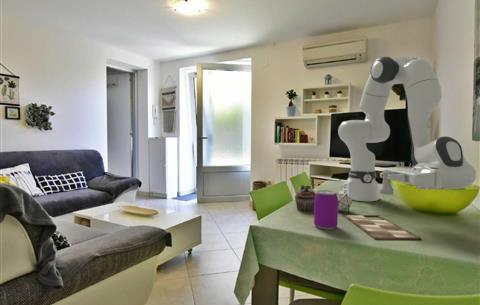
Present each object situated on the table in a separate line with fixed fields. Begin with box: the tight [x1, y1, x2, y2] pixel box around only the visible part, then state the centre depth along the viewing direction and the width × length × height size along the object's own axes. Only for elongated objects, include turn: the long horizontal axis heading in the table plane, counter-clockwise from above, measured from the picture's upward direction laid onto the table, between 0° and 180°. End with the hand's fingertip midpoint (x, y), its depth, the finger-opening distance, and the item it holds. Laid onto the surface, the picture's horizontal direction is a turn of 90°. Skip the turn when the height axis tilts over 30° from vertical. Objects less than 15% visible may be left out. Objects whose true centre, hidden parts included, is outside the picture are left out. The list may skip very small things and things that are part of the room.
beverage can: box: [313, 189, 339, 231], centre depth 99 cm, size 8×8×12 cm
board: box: [342, 214, 422, 241], centre depth 101 cm, size 26×14×1 cm, turn 1°
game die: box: [336, 192, 356, 213], centre depth 120 cm, size 9×8×10 cm
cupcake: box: [294, 185, 317, 213], centre depth 123 cm, size 10×10×10 cm
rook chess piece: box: [379, 169, 395, 196], centre depth 101 cm, size 4×4×8 cm
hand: (384, 176), depth 101 cm, fingers closed on rook chess piece, 3 cm apart
